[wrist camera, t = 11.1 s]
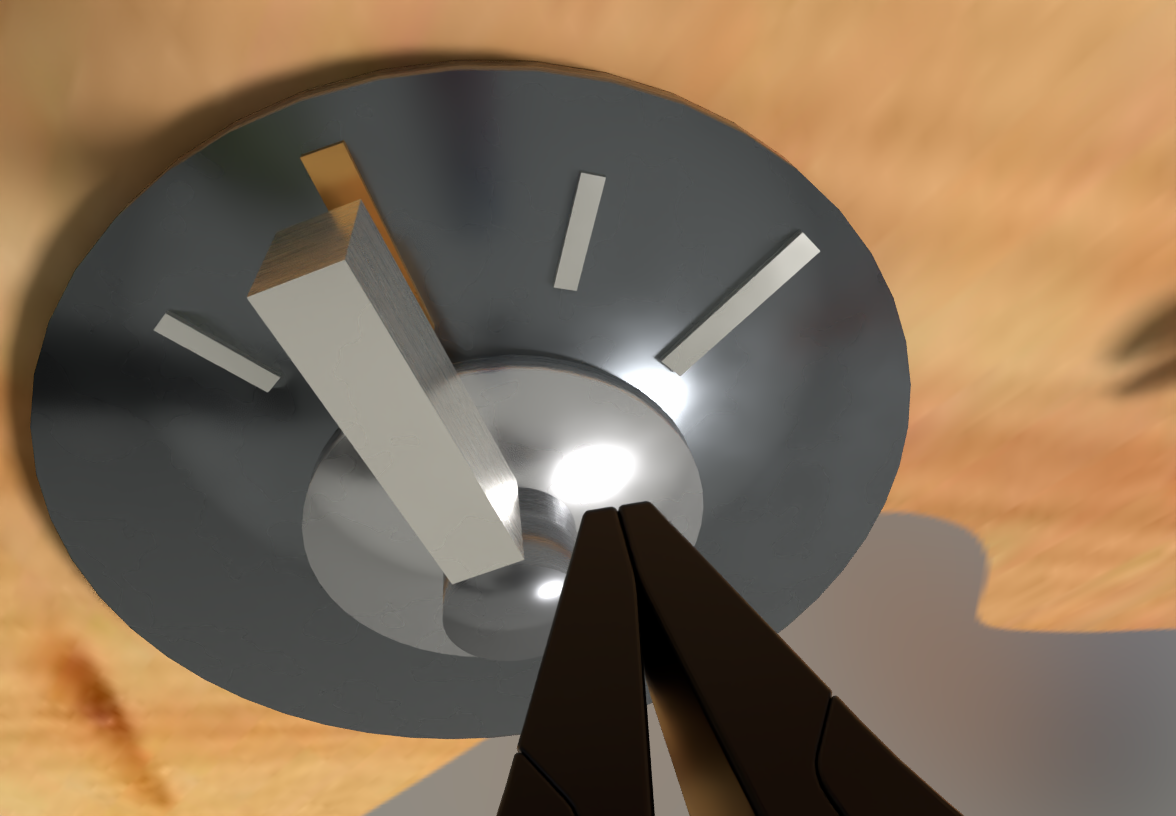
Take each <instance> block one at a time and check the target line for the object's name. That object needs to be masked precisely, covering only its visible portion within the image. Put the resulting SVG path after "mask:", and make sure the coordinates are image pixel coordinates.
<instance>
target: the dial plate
mask: <svg viewBox="0 0 1176 816" xmlns="http://www.w3.org/2000/svg"><path fill="white" fill-rule="evenodd" d="M359 199H361V200H362V202H363V203H364V205H365V207H366V209H367V211H368V212H369V214H370V216H371V218H372V220H373V222H374V223H375V225H376V227H377V229H378V231H379V232H380V234H381V236H382V238H383V240H384V241H385V243H386V245H387V247H388V249H389V250H390V252H391V254H392V256H393V258H394V260H395V261H396V263H397V265H398V267H399V269H400V270H401V272H402V274H403V276H404V278H405V279H406V281H407V283H408V285H409V287H410V289H411V290H412V292H413V294H414V296H415V298H416V299H417V301H418V303H419V305H420V307H421V308H422V310H423V312H424V314H425V316H426V317H427V319H428V321H429V323H430V325H431V327H432V328H433V330H434V332H435V334H436V336H437V337H438V339H439V341H440V343H441V345H442V346H443V348H444V350H445V352H446V354H447V355H448V357H449V359H450V361H451V363H452V362H457V361H462V360H468V359H473V358H478V357H488V356H502V355H527V356H543V357H550V358H557V359H563V360H569V361H573V362H576V363H580V364H584V365H587V366H591V367H595V368H597V369H600V370H602V371H604V372H607V373H609V374H612V375H614V376H617V377H619V378H621V379H622V380H624V381H626V382H628V383H629V384H631V385H633V386H634V387H636V388H638V389H640V390H641V391H642V392H644V393H645V394H646V395H647V396H649V397H650V398H651V399H652V400H654V401H655V402H656V403H658V404H659V405H660V407H661V408H662V409H663V410H664V411H665V412H666V413H667V414H668V415H669V416H670V417H671V418H672V419H673V421H674V422H675V424H676V425H677V427H678V428H679V430H680V431H681V433H682V434H683V436H684V438H685V440H686V442H687V445H688V447H689V449H690V452H691V454H692V456H693V459H694V462H695V464H696V467H697V469H698V472H699V476H700V481H701V485H702V489H703V515H702V522H701V527H700V531H699V534H698V537H697V540H696V543H695V545H694V547H695V548H696V549H697V550H698V551H699V552H700V553H701V555H702V556H703V557H704V558H705V559H706V560H707V561H708V562H709V563H710V564H711V565H712V566H713V567H714V568H715V569H716V570H717V571H718V572H719V573H720V574H721V575H722V576H723V578H724V579H725V580H726V581H727V582H728V583H729V584H730V585H731V586H732V587H733V588H734V589H735V590H736V591H737V592H738V593H739V594H740V595H741V596H742V597H743V598H744V599H745V600H746V602H747V603H748V604H749V605H750V606H751V607H752V608H753V609H754V610H755V611H756V612H757V613H758V614H759V615H760V616H761V617H762V618H763V619H764V620H765V621H766V622H767V623H768V625H769V626H770V627H771V628H772V629H773V630H774V631H775V632H776V633H779V632H780V631H781V630H783V629H784V628H785V627H787V626H788V625H789V624H790V623H791V622H793V620H795V619H796V618H797V617H798V616H799V615H800V614H801V613H802V612H803V611H804V610H806V609H807V608H808V607H809V606H810V605H811V604H812V603H813V602H815V601H816V600H817V599H818V598H819V597H820V595H821V594H822V593H823V592H824V591H825V589H827V588H828V586H829V585H830V584H831V583H832V582H833V581H834V580H835V579H836V578H837V576H838V575H839V574H840V573H841V572H842V571H843V570H844V568H845V567H846V566H847V564H848V563H849V561H850V560H851V559H852V557H853V556H854V554H855V553H856V552H857V550H858V549H859V547H860V546H861V545H862V543H863V542H864V540H865V539H866V537H867V536H868V534H869V532H870V530H871V528H872V526H873V524H874V523H875V521H876V519H877V517H878V515H879V514H880V512H881V510H882V508H883V506H884V504H885V502H886V500H887V497H888V494H889V492H890V489H891V486H892V484H893V481H894V479H895V476H896V473H897V471H898V468H899V465H900V461H901V456H902V452H903V447H904V443H905V438H906V434H907V429H908V420H909V404H910V387H911V383H910V374H909V365H908V355H907V346H906V340H905V336H904V333H903V329H902V326H901V323H900V319H899V316H898V312H897V309H896V305H895V302H894V298H893V296H892V294H891V292H890V290H889V288H888V286H887V284H886V282H885V280H884V278H883V276H882V274H881V272H880V270H879V268H878V266H877V264H876V262H875V260H874V258H873V256H872V254H871V252H870V251H869V249H868V248H867V247H866V245H865V244H864V243H863V241H862V240H861V239H860V237H859V236H858V234H857V233H856V232H855V230H854V229H853V228H852V226H851V225H850V224H849V222H848V221H847V220H846V218H845V217H844V216H843V214H842V213H841V211H840V210H839V209H838V208H837V207H836V206H835V205H834V204H832V203H831V202H830V201H829V200H828V199H827V198H826V197H825V196H824V195H823V194H822V193H821V192H820V191H819V190H818V189H817V188H816V187H815V186H814V185H813V184H812V183H811V182H810V181H808V180H807V179H806V178H805V177H804V176H803V175H802V174H801V173H800V172H799V171H798V170H797V169H796V168H795V167H794V166H793V165H792V164H791V163H790V162H789V161H788V160H786V159H785V158H784V157H783V156H782V155H780V154H779V153H777V152H776V151H774V150H773V149H772V148H770V147H769V146H767V145H766V144H764V143H763V142H761V141H760V140H758V139H757V138H756V137H754V136H753V135H751V134H750V133H748V132H747V131H745V130H744V129H742V128H741V127H740V126H738V125H737V124H735V123H734V122H732V121H730V120H728V119H726V118H723V117H721V116H719V115H717V114H715V113H713V112H711V111H709V110H707V109H705V108H703V107H701V106H699V105H696V104H694V103H692V102H690V101H688V100H686V99H684V98H682V97H680V96H678V95H676V94H673V93H670V92H667V91H664V90H660V89H657V88H654V87H651V86H647V85H644V84H641V83H638V82H635V81H631V80H628V79H625V78H622V77H618V76H615V75H612V74H609V73H604V72H598V71H592V70H585V69H579V68H573V67H566V66H560V65H554V64H547V63H541V62H535V61H482V60H454V61H446V62H438V63H430V64H422V65H414V66H406V67H398V68H390V69H382V70H378V71H374V72H370V73H367V74H363V75H359V76H356V77H352V78H348V79H345V80H341V81H337V82H334V83H330V84H326V85H323V86H319V87H315V88H312V89H308V90H305V91H303V92H301V93H298V94H296V95H294V96H292V97H289V98H287V99H285V100H283V101H280V102H278V103H276V104H273V105H271V106H269V107H267V108H264V109H262V110H260V111H258V112H255V113H253V114H251V115H248V116H246V117H244V118H242V119H239V120H238V121H236V122H235V123H233V124H231V125H230V126H228V127H227V128H225V129H224V130H222V131H220V132H219V133H217V134H216V135H214V136H213V137H211V138H210V139H208V140H206V141H205V142H203V143H202V144H200V145H199V146H197V147H195V148H194V149H192V150H191V151H189V152H188V153H186V154H184V155H183V156H181V157H180V158H179V159H177V160H176V161H175V162H174V163H173V164H172V165H171V166H170V167H169V168H167V169H166V170H165V171H164V172H163V173H162V174H161V175H160V176H159V177H158V178H156V179H155V180H154V181H153V182H152V183H151V184H150V185H149V186H148V187H146V188H145V189H144V190H143V191H142V192H141V193H140V194H139V195H138V196H136V197H135V198H134V199H133V200H132V201H131V202H130V203H129V204H128V205H127V206H126V207H125V208H124V210H123V211H122V212H121V213H120V214H119V215H118V216H117V217H116V218H115V219H114V221H113V222H112V223H111V225H110V226H109V227H108V229H107V230H106V231H105V232H104V234H103V235H102V236H101V238H100V239H99V240H98V241H97V243H96V244H95V245H94V247H93V248H92V249H91V250H90V252H89V253H88V254H87V256H86V257H85V258H84V259H83V261H82V262H81V263H80V265H79V266H78V267H77V268H76V270H75V272H74V274H73V276H72V278H71V280H70V282H69V284H68V285H67V287H66V289H65V291H64V293H63V295H62V297H61V299H60V301H59V303H58V305H57V307H56V309H55V311H54V313H53V315H52V317H51V319H50V321H49V323H48V327H47V330H46V334H45V338H44V341H43V345H42V348H41V352H40V355H39V359H38V362H37V366H36V370H35V373H34V382H33V396H32V410H31V424H30V428H31V435H32V443H33V451H34V459H35V467H36V475H37V478H38V481H39V484H40V487H41V490H42V493H43V496H44V500H45V503H46V506H47V509H48V512H49V515H50V518H51V521H52V522H53V524H54V526H55V528H56V530H57V532H58V534H59V536H60V538H61V540H62V541H63V543H64V545H65V547H66V549H67V551H68V553H69V555H70V557H71V559H72V560H73V562H74V563H75V564H76V566H77V567H78V568H79V570H80V571H81V572H82V574H83V575H84V576H85V578H86V579H87V580H88V582H89V583H90V584H91V586H92V587H93V589H94V590H95V591H96V593H97V594H98V595H99V597H100V598H101V599H102V600H103V601H104V602H105V603H106V604H107V605H108V606H109V607H110V608H111V609H112V610H113V611H114V612H115V613H116V614H117V615H118V616H119V617H120V618H121V619H122V620H123V621H124V622H125V623H126V624H127V625H128V626H129V627H130V628H131V629H132V630H134V631H135V632H136V633H137V634H139V635H140V636H141V637H143V638H144V639H145V640H146V641H148V642H149V643H150V644H152V645H153V646H154V647H155V648H157V649H158V650H159V651H161V652H162V653H163V654H164V655H166V656H167V657H169V658H170V659H172V660H174V661H175V662H177V663H178V664H180V665H182V666H183V667H185V668H187V669H188V670H190V671H191V672H193V673H195V674H196V675H198V676H200V677H201V678H203V679H205V680H207V681H209V682H211V683H213V684H215V685H217V686H219V687H221V688H223V689H225V690H227V691H229V692H232V693H234V694H236V695H238V696H240V697H242V698H244V699H247V700H249V701H252V702H255V703H258V704H260V705H263V706H266V707H268V708H271V709H274V710H276V711H279V712H282V713H285V714H288V715H292V716H295V717H299V718H303V719H306V720H310V721H314V722H317V723H321V724H325V725H329V726H334V727H340V728H345V729H350V730H356V731H361V732H366V733H374V734H383V735H392V736H401V737H410V738H438V739H466V738H493V737H502V736H512V735H521V732H522V728H523V725H524V721H525V718H526V714H527V710H528V707H529V703H530V700H531V696H532V693H533V689H534V686H535V682H536V679H537V675H538V671H539V668H540V664H541V661H542V657H543V656H539V657H535V658H531V659H526V660H518V661H496V660H489V659H484V658H480V657H465V656H457V655H449V654H441V653H437V652H432V651H427V650H423V649H419V648H416V647H412V646H409V645H406V644H403V643H400V642H397V641H395V640H393V639H390V638H388V637H386V636H383V635H381V634H379V633H377V632H375V631H374V630H372V629H370V628H368V627H367V626H365V625H363V624H361V623H360V622H359V621H357V620H356V619H355V618H353V617H352V616H350V615H349V614H348V613H346V612H345V611H344V610H343V609H342V608H341V607H340V606H339V605H338V604H337V603H336V602H335V601H334V600H333V599H332V598H331V597H330V596H329V595H328V593H327V592H326V591H325V589H324V588H323V587H322V585H321V584H320V583H319V581H318V579H317V577H316V576H315V574H314V572H313V570H312V568H311V566H310V564H309V560H308V557H307V554H306V551H305V548H304V541H303V533H302V521H303V508H304V504H305V499H306V495H307V490H308V486H309V483H310V479H311V475H312V472H313V468H314V466H315V464H316V462H317V460H318V458H319V456H320V454H321V451H322V449H323V448H324V447H325V445H326V444H327V442H328V441H329V439H330V438H331V437H332V435H333V434H334V432H335V431H336V430H337V429H338V428H339V426H338V424H337V423H336V422H335V420H334V419H333V417H332V416H331V415H330V413H329V412H328V410H327V409H326V408H325V406H324V405H323V403H322V402H321V401H320V399H319V398H318V396H317V395H316V394H315V392H314V391H313V390H312V388H311V387H310V385H309V384H308V383H307V381H306V380H305V378H304V377H303V376H302V374H301V373H300V371H299V370H298V369H297V367H296V366H295V364H294V363H293V362H292V360H291V359H290V357H289V356H288V355H287V353H286V352H285V350H284V349H283V348H282V346H281V345H280V343H279V342H278V341H277V339H276V338H275V337H274V335H273V334H272V332H271V331H270V330H269V328H268V327H267V325H266V324H265V323H264V321H263V320H262V318H261V317H260V316H259V314H258V313H257V311H256V310H255V309H254V307H253V306H252V304H251V303H250V302H249V300H248V299H247V295H248V293H249V291H250V289H251V287H252V285H253V282H254V280H255V278H256V276H257V274H258V271H259V269H260V267H261V265H262V263H263V260H264V258H265V256H266V254H267V252H268V250H269V247H270V245H271V243H272V241H273V239H274V236H275V234H276V232H277V231H280V230H282V229H285V228H287V227H290V226H292V225H295V224H297V223H300V222H303V221H305V220H308V219H310V218H313V217H315V216H318V215H320V214H323V213H325V212H328V211H331V210H333V209H336V208H338V207H341V206H343V205H346V204H348V203H351V202H354V201H356V200H359ZM645 687H646V701H647V705H648V704H650V703H653V702H652V699H651V696H650V692H649V689H648V686H647V682H646V679H645Z"/></svg>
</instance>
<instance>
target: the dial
mask: <svg viewBox="0 0 1176 816" xmlns="http://www.w3.org/2000/svg"><path fill="white" fill-rule="evenodd" d="M247 299H248V300H249V302H250V303H251V304H252V306H253V307H254V309H255V310H256V311H257V313H258V314H259V316H260V317H261V318H262V320H263V321H264V323H265V324H266V325H267V327H268V328H269V330H270V331H271V332H272V334H273V335H274V337H275V338H276V339H277V341H278V342H279V343H280V345H281V346H282V348H283V349H284V350H285V352H286V353H287V355H288V356H289V357H290V359H291V360H292V362H293V363H294V364H295V366H296V367H297V369H298V370H299V371H300V373H301V374H302V376H303V377H304V378H305V380H306V381H307V383H308V384H309V385H310V387H311V388H312V390H313V391H314V392H315V394H316V395H317V396H318V398H319V399H320V401H321V402H322V403H323V405H324V406H325V408H326V409H327V410H328V412H329V413H330V415H331V416H332V417H333V419H334V420H335V422H336V423H337V424H338V426H339V428H338V429H337V430H336V431H335V432H334V434H333V435H332V437H331V438H330V439H329V441H328V442H327V444H326V445H325V447H324V448H323V449H322V451H321V454H320V456H319V458H318V460H317V462H316V464H315V466H314V468H313V472H312V475H311V479H310V483H309V486H308V490H307V495H306V499H305V504H304V508H303V521H302V533H303V541H304V548H305V551H306V554H307V557H308V560H309V564H310V566H311V568H312V570H313V572H314V574H315V576H316V577H317V579H318V581H319V583H320V584H321V585H322V587H323V588H324V589H325V591H326V592H327V593H328V595H329V596H330V597H331V598H332V599H333V600H334V601H335V602H336V603H337V604H338V605H339V606H340V607H341V608H342V609H343V610H344V611H345V612H346V613H348V614H349V615H350V616H352V617H353V618H355V619H356V620H357V621H359V622H360V623H361V624H363V625H365V626H367V627H368V628H370V629H372V630H374V631H375V632H377V633H379V634H381V635H383V636H386V637H388V638H390V639H393V640H395V641H397V642H400V643H403V644H406V645H409V646H412V647H416V648H419V649H423V650H427V651H432V652H437V653H441V654H449V655H457V656H465V657H480V658H484V659H489V660H496V661H518V660H526V659H531V658H535V657H539V656H543V654H544V650H545V647H546V643H547V640H548V636H549V632H550V629H551V625H552V622H553V618H554V615H555V611H556V608H557V604H558V601H559V597H560V593H561V590H562V586H563V583H564V579H565V576H566V572H567V569H568V565H569V562H570V558H571V554H572V551H573V547H574V544H575V540H576V537H577V533H578V530H579V526H580V523H581V519H582V516H583V514H584V513H585V512H586V511H587V510H593V509H599V508H605V507H615V508H616V509H617V511H618V508H619V507H620V506H621V505H623V504H630V503H636V502H642V501H648V502H651V503H652V504H653V505H654V506H656V508H657V509H658V510H659V511H660V512H661V513H662V514H663V515H664V516H665V517H666V518H667V519H668V520H669V521H670V522H671V523H672V524H673V525H674V526H675V527H676V528H677V529H678V531H679V532H680V533H681V534H682V535H683V536H684V537H685V538H686V539H687V540H688V541H689V542H690V543H691V544H692V545H693V546H694V545H695V543H696V540H697V537H698V534H699V531H700V527H701V522H702V515H703V489H702V485H701V481H700V476H699V472H698V469H697V467H696V464H695V462H694V459H693V456H692V454H691V452H690V449H689V447H688V445H687V442H686V440H685V438H684V436H683V434H682V433H681V431H680V430H679V428H678V427H677V425H676V424H675V422H674V421H673V419H672V418H671V417H670V416H669V415H668V414H667V413H666V412H665V411H664V410H663V409H662V408H661V407H660V405H659V404H658V403H656V402H655V401H654V400H652V399H651V398H650V397H649V396H647V395H646V394H645V393H644V392H642V391H641V390H640V389H638V388H636V387H634V386H633V385H631V384H629V383H628V382H626V381H624V380H622V379H621V378H619V377H617V376H614V375H612V374H609V373H607V372H604V371H602V370H600V369H597V368H595V367H591V366H587V365H584V364H580V363H576V362H573V361H569V360H563V359H557V358H550V357H543V356H527V355H502V356H488V357H478V358H473V359H468V360H462V361H457V362H452V363H451V361H450V359H449V357H448V355H447V354H446V352H445V350H444V348H443V346H442V345H441V343H440V341H439V339H438V337H437V336H436V334H435V332H434V330H433V328H432V327H431V325H430V323H429V321H428V319H427V317H426V316H425V314H424V312H423V310H422V308H421V307H420V305H419V303H418V301H417V299H416V298H415V296H414V294H413V292H412V290H411V289H410V287H409V285H408V283H407V281H406V279H405V278H404V276H403V274H402V272H401V270H400V269H399V267H398V265H397V263H396V261H395V260H394V258H393V256H392V254H391V252H390V250H389V249H388V247H387V245H386V243H385V241H384V240H383V238H382V236H381V234H380V232H379V231H378V229H377V227H376V225H375V223H374V222H373V220H372V218H371V216H370V214H369V212H368V211H367V209H366V207H365V205H364V203H363V202H362V200H361V199H359V200H356V201H354V202H351V203H348V204H346V205H343V206H341V207H338V208H336V209H333V210H331V211H328V212H325V213H323V214H320V215H318V216H315V217H313V218H310V219H308V220H305V221H303V222H300V223H297V224H295V225H292V226H290V227H287V228H285V229H282V230H280V231H277V232H276V234H275V236H274V239H273V241H272V243H271V245H270V247H269V250H268V252H267V254H266V256H265V258H264V260H263V263H262V265H261V267H260V269H259V271H258V274H257V276H256V278H255V280H254V282H253V285H252V287H251V289H250V291H249V293H248V295H247Z"/></svg>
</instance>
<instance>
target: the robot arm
mask: <svg viewBox="0 0 1176 816" xmlns="http://www.w3.org/2000/svg"><path fill="white" fill-rule="evenodd" d="M645 679H646V682H647V686H648V689H649V692H650V696H651V699H652V702H653V705H654V708H655V711H656V714H657V717H658V720H659V723H660V726H661V730H662V732H663V736H664V739H665V741H666V745H667V748H668V751H669V754H670V757H671V760H672V763H673V766H674V769H675V772H676V775H677V779H678V782H679V784H680V788H681V791H682V794H683V797H684V800H685V803H686V806H687V809H688V812H689V815H690V816H964V815H962V814H961V813H960V812H959V811H958V810H957V809H955V808H954V807H953V806H952V805H951V804H950V803H948V802H947V801H946V800H945V799H944V798H943V797H942V796H940V795H939V794H938V793H937V792H936V791H935V790H934V789H933V788H931V787H930V786H929V785H928V784H927V783H926V782H925V781H924V780H922V779H921V778H920V777H919V776H918V775H917V774H916V773H915V772H913V771H912V770H911V769H910V768H909V767H908V766H907V765H906V764H904V763H903V762H902V761H901V760H900V759H899V758H898V757H897V756H896V755H895V754H894V753H893V752H892V751H891V750H890V749H889V748H888V747H887V746H886V745H885V744H884V743H883V742H881V740H880V739H879V738H878V737H877V736H876V735H875V734H874V733H873V732H872V731H871V730H870V729H869V728H868V727H867V726H866V725H865V724H863V722H862V721H861V720H860V719H859V718H858V717H857V716H856V715H855V714H854V713H853V712H852V711H851V710H850V709H849V708H848V707H847V706H846V705H845V703H844V702H843V701H842V700H841V699H839V697H837V696H833V697H832V691H831V689H830V688H829V687H828V686H827V685H826V684H825V683H824V682H823V681H822V680H821V679H820V678H819V677H818V676H817V675H816V674H815V673H814V672H813V670H812V669H810V667H809V666H808V665H807V664H806V663H805V662H804V661H803V660H802V659H801V658H800V657H799V656H798V655H797V654H796V653H795V652H794V651H793V650H792V649H791V647H790V646H789V645H788V644H786V642H785V641H784V640H783V639H782V638H781V637H780V636H779V635H778V634H777V633H776V632H775V631H774V630H773V629H772V628H771V627H770V626H769V625H768V623H767V622H766V621H765V620H764V619H763V618H762V617H761V616H760V615H759V614H758V613H757V612H756V611H755V610H754V609H753V608H752V607H751V606H750V605H749V604H748V603H747V602H746V600H745V599H744V598H743V597H742V596H741V595H740V594H739V593H738V592H737V591H736V590H735V589H734V588H733V587H732V586H731V585H730V584H729V583H728V582H727V581H726V580H725V579H724V578H723V576H722V575H721V574H720V573H719V572H718V571H717V570H716V569H715V568H714V567H713V566H712V565H711V564H710V563H709V562H708V561H707V560H706V559H705V558H704V557H703V556H702V555H701V553H700V552H699V551H698V550H697V549H696V548H695V547H694V546H693V545H692V544H691V543H690V542H689V541H688V540H687V539H686V538H685V537H684V536H683V535H682V534H681V533H680V532H679V531H678V529H677V528H676V527H675V526H674V525H673V524H672V523H671V522H670V521H669V520H668V519H667V518H666V517H665V516H664V515H663V514H662V513H661V512H660V511H659V510H658V509H657V508H656V506H654V505H653V504H652V503H651V502H648V501H642V502H636V503H630V504H623V505H621V506H620V507H619V508H618V511H617V509H616V508H615V507H605V508H599V509H593V510H587V511H586V512H585V513H584V514H583V516H582V519H581V523H580V526H579V530H578V533H577V537H576V540H575V544H574V547H573V551H572V554H571V558H570V562H569V565H568V569H567V572H566V576H565V579H564V583H563V586H562V590H561V593H560V597H559V601H558V604H557V608H556V611H555V615H554V618H553V622H552V625H551V629H550V632H549V636H548V640H547V643H546V647H545V650H544V654H543V657H542V661H541V664H540V668H539V671H538V675H537V679H536V682H535V686H534V689H533V693H532V696H531V700H530V703H529V707H528V710H527V714H526V718H525V721H524V725H523V728H522V732H521V735H520V739H519V743H518V746H517V750H518V753H516V754H515V755H514V759H513V762H512V766H511V769H510V773H509V777H508V780H507V783H506V787H505V790H504V793H503V796H502V800H501V803H500V806H499V809H498V812H497V816H655V813H654V799H653V785H652V771H651V758H650V743H649V730H648V715H647V701H646V687H645ZM831 697H832V698H831Z"/></svg>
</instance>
